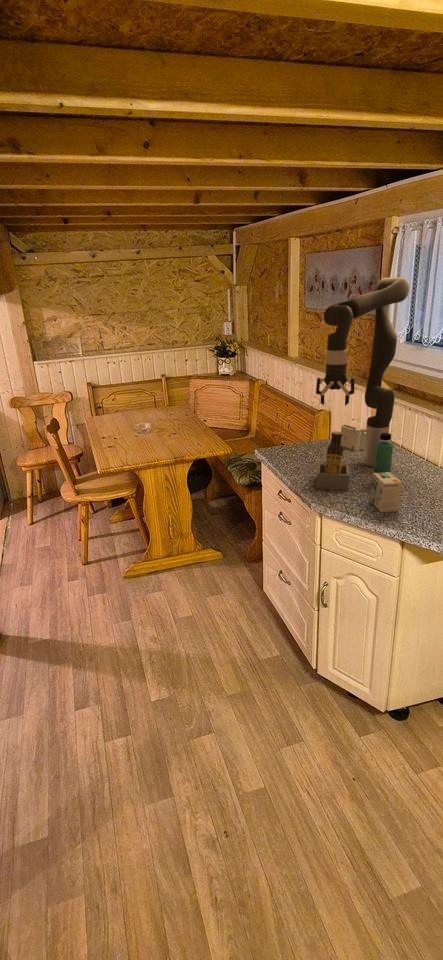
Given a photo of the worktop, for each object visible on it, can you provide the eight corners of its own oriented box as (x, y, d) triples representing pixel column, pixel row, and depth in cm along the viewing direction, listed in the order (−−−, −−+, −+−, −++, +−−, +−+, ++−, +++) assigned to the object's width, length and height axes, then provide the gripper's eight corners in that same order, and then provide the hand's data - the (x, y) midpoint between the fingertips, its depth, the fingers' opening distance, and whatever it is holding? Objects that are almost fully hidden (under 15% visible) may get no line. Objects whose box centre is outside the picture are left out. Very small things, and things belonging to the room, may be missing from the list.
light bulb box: (369, 500, 186) (372, 472, 182) (387, 499, 186) (390, 471, 182) (380, 512, 176) (383, 483, 172) (399, 511, 176) (402, 482, 172)
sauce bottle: (322, 482, 200) (325, 433, 193) (325, 477, 205) (328, 429, 198) (339, 484, 198) (342, 435, 190) (342, 479, 203) (345, 430, 196)
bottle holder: (347, 478, 206) (348, 464, 204) (348, 489, 195) (349, 475, 193) (317, 477, 208) (317, 463, 206) (316, 488, 197) (317, 473, 195)
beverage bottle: (390, 480, 204) (395, 431, 196) (389, 486, 198) (394, 436, 191) (373, 478, 206) (377, 430, 198) (372, 484, 200) (376, 435, 193)
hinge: (368, 450, 240) (370, 429, 237) (362, 452, 237) (363, 431, 233) (343, 444, 250) (344, 424, 246) (336, 446, 246) (338, 426, 243)
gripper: (355, 360, 192) (353, 402, 198) (316, 360, 194) (315, 402, 200) (356, 363, 185) (354, 407, 191) (316, 363, 188) (315, 407, 194)
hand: (334, 404), depth 196 cm, fingers open, 8 cm apart
